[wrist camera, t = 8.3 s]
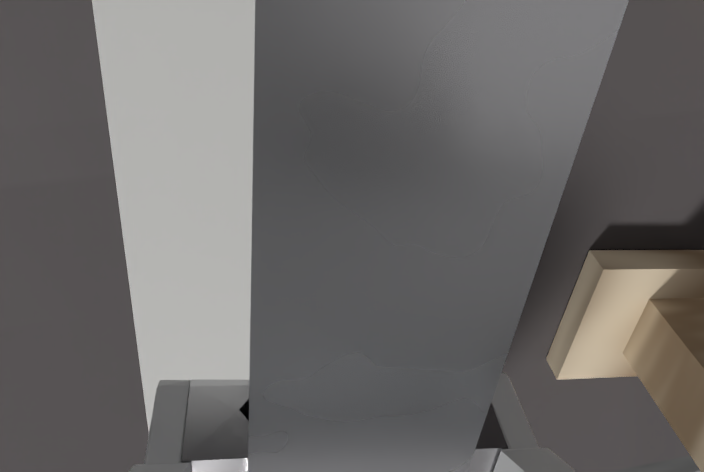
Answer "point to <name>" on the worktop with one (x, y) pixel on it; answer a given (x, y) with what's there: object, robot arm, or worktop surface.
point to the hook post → (641, 331)
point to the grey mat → (183, 178)
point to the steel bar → (403, 215)
